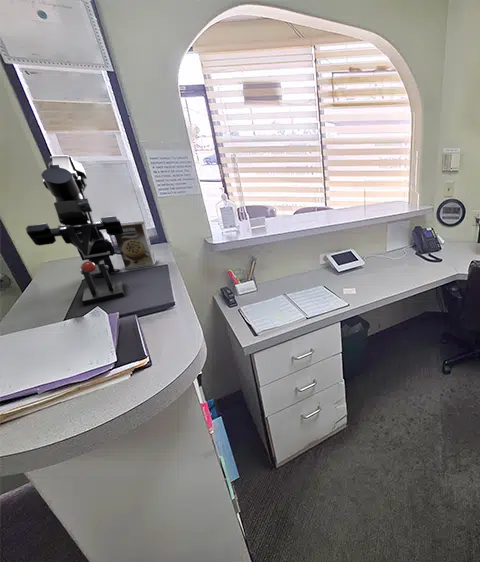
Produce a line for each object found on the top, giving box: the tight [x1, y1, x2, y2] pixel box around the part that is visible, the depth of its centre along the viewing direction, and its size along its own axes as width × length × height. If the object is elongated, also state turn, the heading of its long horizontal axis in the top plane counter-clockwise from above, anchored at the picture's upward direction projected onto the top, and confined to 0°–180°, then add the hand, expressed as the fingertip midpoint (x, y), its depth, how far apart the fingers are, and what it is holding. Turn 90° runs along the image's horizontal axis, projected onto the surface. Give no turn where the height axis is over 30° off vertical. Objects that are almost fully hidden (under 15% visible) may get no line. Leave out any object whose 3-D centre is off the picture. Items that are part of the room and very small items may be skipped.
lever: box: [80, 261, 101, 275], centre depth 85 cm, size 14×3×3 cm, turn 39°
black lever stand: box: [79, 260, 125, 306], centre depth 91 cm, size 12×9×10 cm
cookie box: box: [113, 221, 157, 270], centre depth 116 cm, size 9×6×16 cm
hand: (86, 254), depth 83 cm, fingers closed
